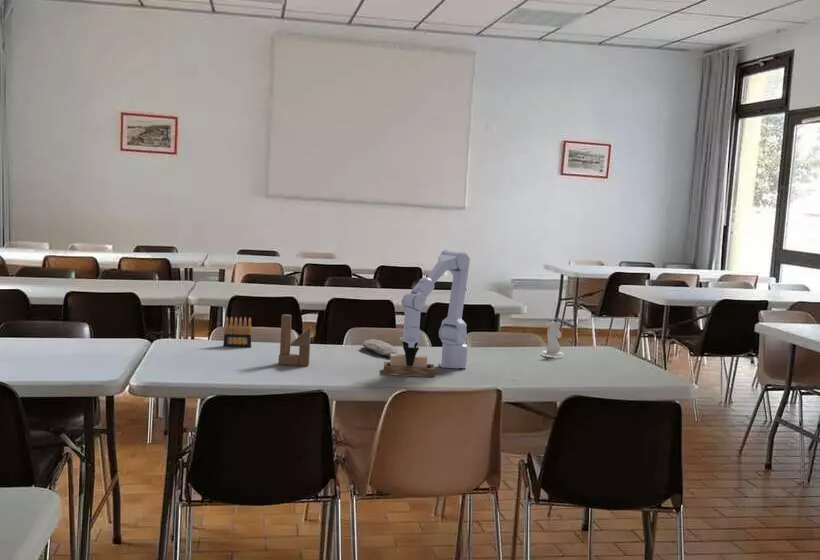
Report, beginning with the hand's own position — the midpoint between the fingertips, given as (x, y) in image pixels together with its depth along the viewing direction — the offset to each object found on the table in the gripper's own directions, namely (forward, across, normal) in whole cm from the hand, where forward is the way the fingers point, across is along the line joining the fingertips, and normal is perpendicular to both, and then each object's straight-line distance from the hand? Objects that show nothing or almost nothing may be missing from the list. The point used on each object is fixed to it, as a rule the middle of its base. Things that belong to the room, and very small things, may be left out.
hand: (409, 363), depth 290 cm
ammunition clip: (+4, -30, -66) cm, 73 cm away
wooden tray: (+3, 0, 0) cm, 3 cm away
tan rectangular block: (+3, 0, 0) cm, 3 cm away
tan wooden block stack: (+4, -4, -42) cm, 42 cm away
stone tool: (+4, -34, -10) cm, 36 cm away
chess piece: (+4, -48, +62) cm, 79 cm away
